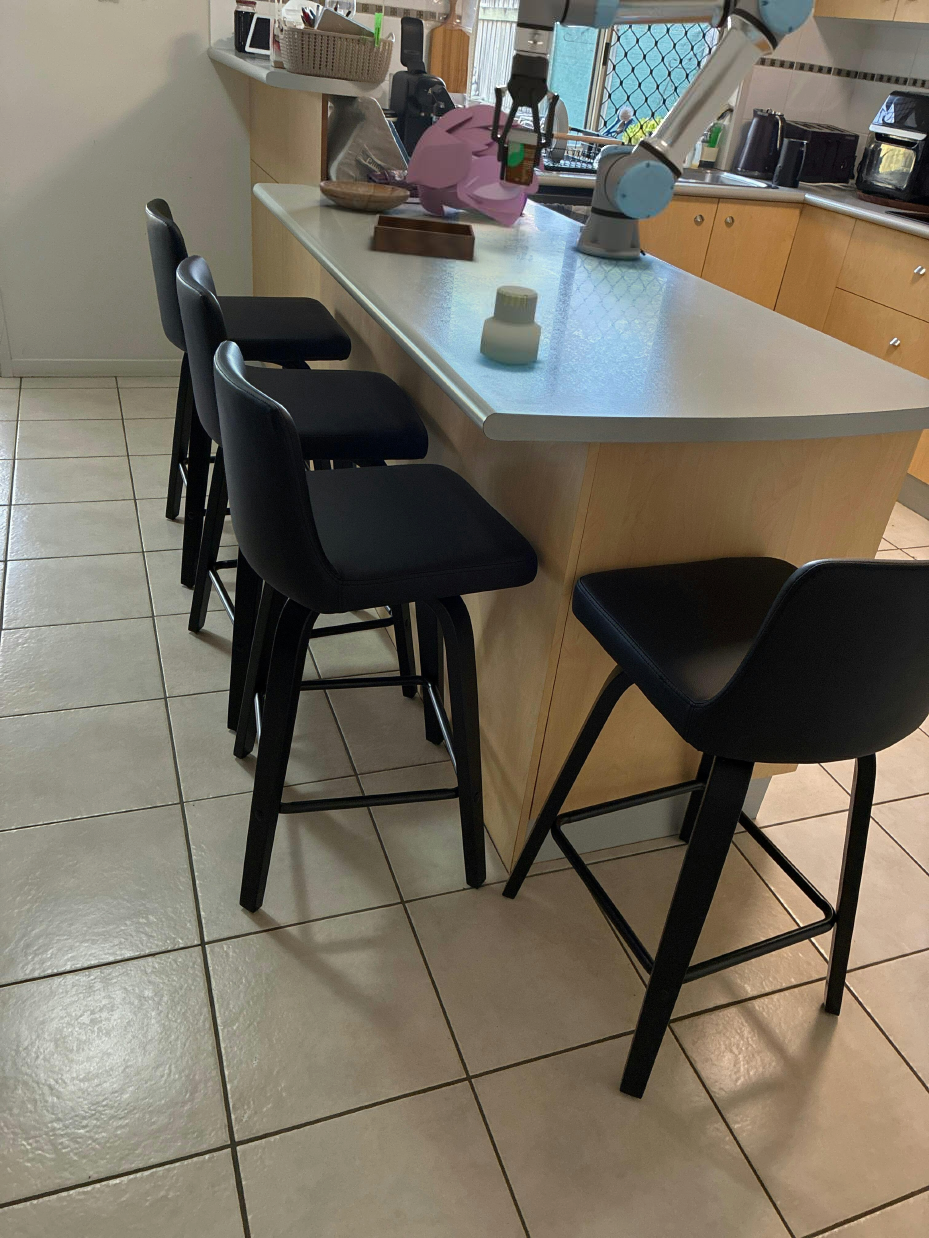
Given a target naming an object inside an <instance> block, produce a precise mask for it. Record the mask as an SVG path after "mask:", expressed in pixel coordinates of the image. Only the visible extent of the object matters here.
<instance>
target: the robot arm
mask: <svg viewBox="0 0 929 1238" xmlns="http://www.w3.org/2000/svg"><path fill="white" fill-rule="evenodd" d="M518 1H519V3H518V8H517V9H518V11H517V20H516V28H515V35H514V41H513V51H515V53H514V54H513V55H512V60H511V69H510V77H509V80H508V81H507V83H506V84H504V85H500V86H498V85H496V86H495V87H494V88H493V90H494V91H493V92H494V97H495V102H494V106H495V108H494V116H493V123H492V128H491V129H492V130H491V139H492V140H493V141H495V142H497V143H498V152H497V161H498V162H501V170H500V180H504V176H505V168H506V160H507V151H508V146H507V145H505V142H506V137H507V134H508V132H509V131H510V129H511V126H512V123H513V121H515V118H516V115H517V113H518V111H519V108H525V107H526V108H528V109H530V110H531V118H532V126H533V127H532V128H533V133H536V134H538V136H537V145H536V149H535V156H534V162H533V169H532V175H531V182H530V184H532V180H533V173H534V170H535V167H536V166H539V164H540V158H541V152H542V153H543V150H544V149H547V148H550V147H551V146H552V141H553V132H554V124H555V114H556V108H557V105H558V102H559V100H560V95H559V94H558V93H555V92H553V91H550V90H549V87H548V75H549V67H550V58H548V56H550V55H551V54H552V53H551V52H552V46H553V38H554V32H555V31H554V30H555V25H556V23H557V24H558V25H559V26H561V27H563V28H575V27H576V28H592V29H594V30H598V29H599V30H608V29H610V28H612V27H613V26H639V25H640V26H641V25H642V26H643V25H644V26H645V25H676V24H677V25H678V24H681V25H682V24H707V25H708V27H709V28H711V29H728V30H727V31H726V33H725V34H724V35H723V36H722V38H721V39H720V41H719V42H718V44H717V45H716V46H715V48H714V50H713V51H712V52H711V53H710V54H709V56H708V57H707V59H706V60H705V62H704V63H703V64H702V66H701V67H700V69H699V70H698V71H697V73H696V74H695V75H694V77H693V78H692V80H691V81H690V83H689V84H688V85H687V86H686V88H685V89H684V91H683V92H682V93H681V95H680V96H679V98H678V100H677V101H676V102H675V103H674V105H673V106H672V108H671V109H670V110H669V112H668V113H667V115H666V116H665V117H664V119H663V121H661V123H660V125H658V127H657V129H656V130H655V131H654V133H653V134H652V135H651V136H647V137H642V138H640V140H639V142H638V143H637V144H636V146H630V145H615V144H612V145H611V144H609V145H604V147H602V148H601V150H600V154H599V158H598V160H597V170H596V175H595V181H594V187H593V188H594V189H593V194H592V199H591V200H592V201H591V206H590V211H589V216H588V218H587V220H586V222H585V223H584V224H585V225H580V226H579V233H580V235H579V237H578V239H577V243H576V250H577V251H579V252H581V253H584V254H586V255H590V256H595V257H599V258H604V259H611V260H612V259H613V260H624V261H625V260H627V261H629V260H632V261H633V260H637V259H640V255H642V256H643V257H645V256H646V255H647V253H646V252H645V251H644V250H643V249H642V247H641V237H640V228H639V220H647V219H652V218H654V217H656V216H658V215H659V214H661V213H662V212H663V211H664V210H665V209H666V208H668V206H669V204H671V201H672V200H673V197H674V193H675V185H676V183H677V182H678V181H679V179H680V178H681V177H682V176H683V174H684V161H685V160H686V158H687V157H688V156H689V154H690V153H691V151H692V150H693V149H694V147H695V146H696V144H697V143H698V142H699V141H700V139H701V138H702V136H703V135H704V134H705V132H706V131H707V130H708V128H709V127H710V126H711V124H712V123H713V122H714V121H715V119H716V118H717V116H718V115H719V114H720V113H721V111H722V109H723V108H724V106H726V104H727V103H728V101H729V100H730V99H731V97H732V96H733V94H734V93H735V92H736V91H737V90H738V88H739V86H740V85H741V84H742V82H743V81H744V80H745V78H746V77H747V76H748V74H749V73H750V71H752V69H753V68H754V66H755V65H756V64H757V62H758V61H759V59H760V58H762V57H768V56H771V55H772V54H773V53H774V52H775V51H776V49H777V48H778V46H779V45H780V44H781V42H782V41H783V40H784V38H785V37H786V36H787V35H790V34H793V33H794V32H796V31H798V30H799V29H800V28H801V27H802V26H803V25H804V24H805V23H806V22H807V20H808V18H809V17H810V15H811V13H812V11H813V7H814V3H815V0H518ZM507 92H508V93H509V97H510V98H511V100H512V102H511V106H510V109H509V111H508V114H507V115H508V117H507V119H506V122H505V125H504V127H503V130H502V133H501V135H500V137H499V136H498V128H499V121H500V114H501V110H502V106H503V98H505V97H506V93H507ZM545 97H546V102H547V104H548V106H547V113H546V124H545V132H544V140H543V139H542V132H541V131H542V129H541V121H540V109H539V104H540V103H541V102H542V101H543V99H544V98H545Z"/></svg>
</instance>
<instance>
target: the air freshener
mask: <svg viewBox="0 0 929 1238" xmlns="http://www.w3.org/2000/svg"><path fill="white" fill-rule="evenodd" d="M538 297H539V295H538V292H537V291H536V290H534V289H531V288H529V287H526V286H519V285H501V286H499V287H498V288H497V289H496V295H495V303H494V310H493V315H492V316H489V317H486V318H485V319H484V322H483V324H482V325H483V326H482V330H481V337H480V346H479V352H480V353H481V354H482V356H484V357H486V359H488V360H490V361H491V362H494V363H498V364H502V365H507V366H526V365H529V364H531V363H534V362H536V361H537V360H538V354H539V349H540V341H541V333H542V326H541V325H540V324H539V323H538V322H536V321H535V318H536V313H537V312H536V311H537V304H538Z"/></svg>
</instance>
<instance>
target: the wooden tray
mask: <svg viewBox="0 0 929 1238" xmlns="http://www.w3.org/2000/svg"><path fill="white" fill-rule="evenodd" d="M372 241H373V242H372V251H374V252H384V253H393V254H401V255H403V254H404V255H413V256H421V257H422V256H423V257H432V258H439V259H450V260H458V261H459V260H460V261H468V262H473V261H474V253H475V243H476V236H475V233H474V229H473V226H472V224H468V223H467V224H466V223H460V222H459V223H458V222H449V221H439V220H431V219H423V218H413V217H405V216H395V215H386V214H379V213H378V214H376V216H375V222H374V226H373V240H372Z"/></svg>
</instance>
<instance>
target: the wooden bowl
mask: <svg viewBox="0 0 929 1238" xmlns="http://www.w3.org/2000/svg"><path fill="white" fill-rule="evenodd" d="M318 187H319V190H320V192H321V194H322V195H323V196H324V197H325V198H326V199H328V200H329V201H331V202H332V203H333V204H336V205H338V206H341V207H343V208H347V209H353V210H359V211H367V212H383V211H389V210H393V209H396V208H398V207H401V206H402V205H403V204H405V203H406V202H407V201H408V200H409V198H410V191H409V190H407V189H406V188H401V187H397V186H394V185H388V184H381V183H373V182H366V181H357V180H356V181H355V180H337V179H335V180H324V181H321V182H319V186H318Z"/></svg>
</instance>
